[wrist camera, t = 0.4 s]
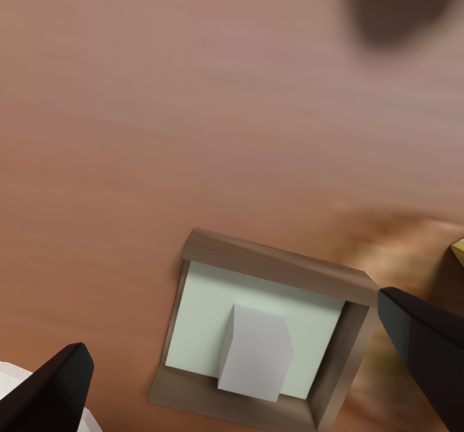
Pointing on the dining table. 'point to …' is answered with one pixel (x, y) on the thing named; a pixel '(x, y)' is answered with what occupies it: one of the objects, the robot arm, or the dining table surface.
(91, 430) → the dish
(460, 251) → the candy box
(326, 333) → the cover plate
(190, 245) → the walnut box
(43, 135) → the dining table surface
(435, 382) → the robot arm
